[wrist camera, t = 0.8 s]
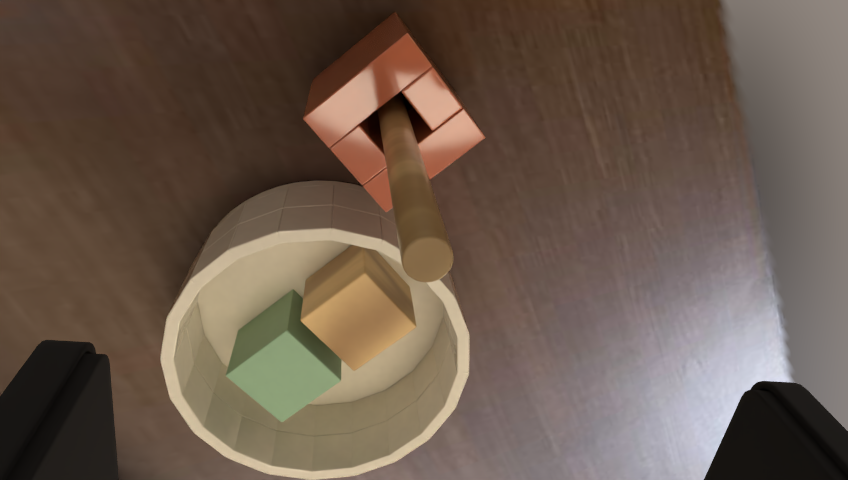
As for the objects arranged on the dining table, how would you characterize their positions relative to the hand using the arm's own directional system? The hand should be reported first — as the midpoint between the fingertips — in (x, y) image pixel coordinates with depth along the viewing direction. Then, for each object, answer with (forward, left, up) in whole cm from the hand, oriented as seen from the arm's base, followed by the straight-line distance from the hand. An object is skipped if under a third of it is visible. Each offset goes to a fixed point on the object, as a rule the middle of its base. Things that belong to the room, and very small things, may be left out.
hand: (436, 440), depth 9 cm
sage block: (+7, -12, -23) cm, 27 cm away
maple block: (+7, -7, -23) cm, 25 cm away
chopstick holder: (0, 0, -24) cm, 24 cm away
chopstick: (0, 0, -24) cm, 24 cm away
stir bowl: (+7, -10, -24) cm, 27 cm away
